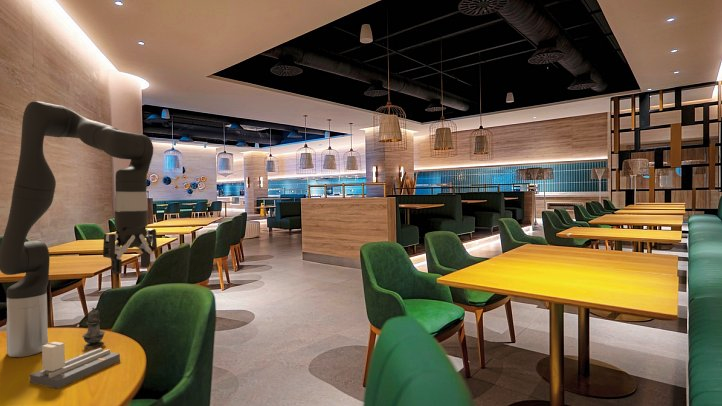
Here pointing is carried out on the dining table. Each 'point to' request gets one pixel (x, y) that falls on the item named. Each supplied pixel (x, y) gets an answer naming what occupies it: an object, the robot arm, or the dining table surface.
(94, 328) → the dark grey statuette
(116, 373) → the dining table surface
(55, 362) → the fader tab
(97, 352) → the grey ridged rail base
